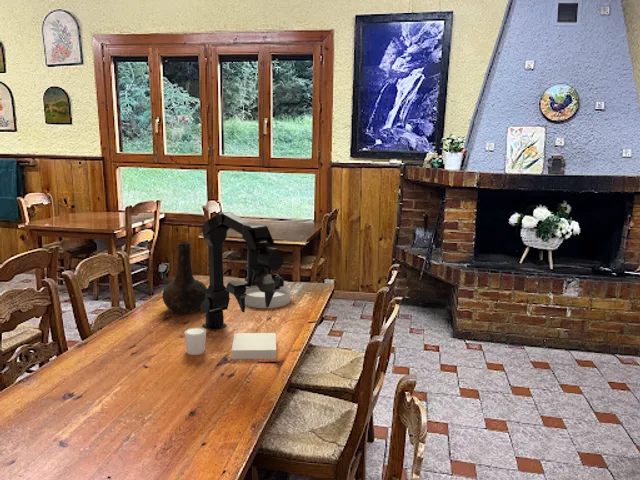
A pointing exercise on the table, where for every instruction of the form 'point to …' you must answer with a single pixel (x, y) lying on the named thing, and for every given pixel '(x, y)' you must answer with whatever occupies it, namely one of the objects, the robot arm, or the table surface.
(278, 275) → the robot arm
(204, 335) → the white cup
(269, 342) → the base block
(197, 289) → the glass bottle
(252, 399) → the table surface
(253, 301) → the dish
